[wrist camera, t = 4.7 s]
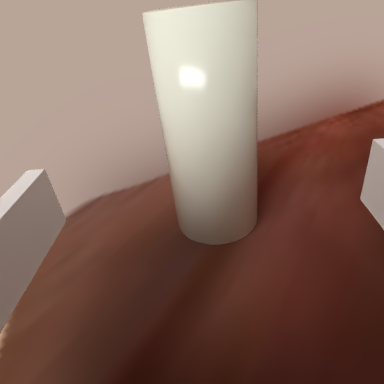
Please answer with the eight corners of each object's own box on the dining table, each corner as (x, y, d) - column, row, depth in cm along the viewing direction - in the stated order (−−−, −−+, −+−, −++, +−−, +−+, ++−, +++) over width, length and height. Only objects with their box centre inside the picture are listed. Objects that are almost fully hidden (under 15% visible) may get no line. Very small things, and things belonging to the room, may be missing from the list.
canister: (264, 200, 25) (267, -5, 17) (246, 251, 20) (240, 3, 13) (194, 192, 27) (171, 6, 20) (165, 236, 22) (119, 16, 15)
